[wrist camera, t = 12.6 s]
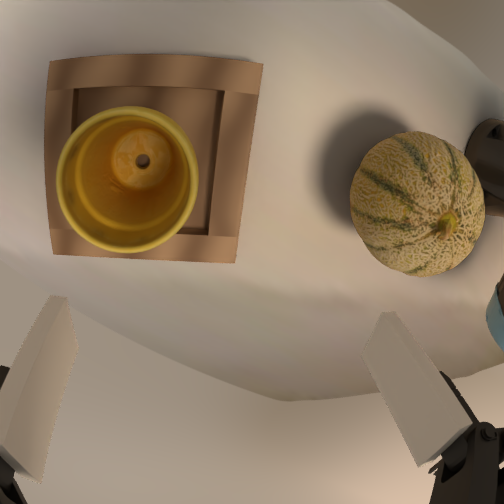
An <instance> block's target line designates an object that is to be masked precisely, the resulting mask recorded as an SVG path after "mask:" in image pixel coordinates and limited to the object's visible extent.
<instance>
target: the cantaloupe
mask: <svg viewBox="0 0 504 504" xmlns="http://www.w3.org/2000/svg"><path fill="white" fill-rule="evenodd" d="M350 208H351V209H350V212H351V216H352V220H353V222H354V226H355V227H356V229H357V232H358V234H359V235H360V237H361V238H362V240H363V242H364V244H365V245H366V247H367V248H368V250H369V251H370V252H371V254H372V255H373V256H374V257H375V258H376V259H377V260H378V261H380V262H381V263H382V264H384V265H386V266H387V267H389V268H391V269H394V270H398V271H401V272H403V273H405V274H407V275H410V276H418V277H427V276H433V275H436V274H440V273H442V272H445V271H447V270H450V269H453V268H454V267H455V266H457V265H458V264H459V263H460V262H461V261H462V260H463V259H465V258H466V257H467V256H468V254H469V253H470V252H471V251H472V249H473V247H474V244H475V243H476V241H477V239H478V237H479V236H480V233H481V231H482V228H483V223H484V220H485V204H484V197H483V190H482V188H481V184H480V182H479V179H478V177H477V175H476V173H475V171H474V169H473V168H472V167H471V165H470V163H469V161H468V160H467V158H466V157H465V156H464V155H463V154H462V153H461V151H459V150H458V149H456V148H455V147H454V146H452V145H451V144H449V143H448V142H446V141H444V140H441V139H439V138H437V137H435V136H433V135H430V134H427V133H424V132H419V131H417V132H406V133H399V134H396V135H394V136H392V137H390V138H388V139H385V140H383V141H381V142H379V143H377V144H376V145H375V146H374V147H373V148H371V150H369V151H368V152H367V154H366V155H365V156H364V158H363V160H362V162H361V164H360V167H359V168H358V169H357V171H356V173H355V176H354V178H353V181H352V186H351V189H350Z"/></svg>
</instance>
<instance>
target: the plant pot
mask: <svg viewBox="0 0 504 504" xmlns="http://www.w3.org/2000/svg"><path fill="white" fill-rule="evenodd" d="M143 154H144V155H147V156H148V157H149V160H150V162H149V164H148V166H146V167H141V166H139V165H138V163H137V159H138V157H139V156H140V155H143ZM198 184H199V174H198V164H197V159H196V155H195V151H194V149H193V146H192V144H191V142H190V140H189V138H188V136H187V135H186V133H185V132H184V131H183V129H182V128H181V127H180V126H179V125H178V124H177V123H176V122H175V121H174V120H172V119H171V118H170V117H168V116H166V115H165V114H163V113H161V112H158V111H156V110H153V109H149V108H145V107H138V106H124V107H117V108H112V109H109V110H105V111H103V112H100V113H98V114H96V115H94V116H92V117H91V118H89V119H88V120H86V121H85V122H84V123H82V124H81V125H80V126H79V127H78V128H77V129H76V130H75V131H74V132H73V133H72V135H71V136H70V137H69V139H68V140H67V142H66V144H65V145H64V147H63V150H62V152H61V155H60V158H59V161H58V165H57V171H56V191H57V197H58V201H59V204H60V207H61V210H62V212H63V214H64V216H65V218H66V219H67V221H68V222H69V224H70V225H71V227H72V228H73V229H74V230H75V231H76V232H77V233H78V234H79V235H80V236H81V237H82V238H84V239H85V240H86V241H88V242H89V243H91V244H93V245H95V246H97V247H99V248H102V249H104V250H107V251H111V252H117V253H138V252H143V251H147V250H150V249H152V248H155V247H157V246H159V245H161V244H162V243H164V242H166V241H167V240H169V239H170V238H171V237H172V236H174V235H175V234H176V233H177V232H178V231H179V230H180V229H181V227H182V226H183V225H184V223H185V222H186V220H187V219H188V217H189V216H190V214H191V212H192V209H193V207H194V204H195V201H196V197H197V193H198Z"/></svg>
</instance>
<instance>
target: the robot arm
mask: <svg viewBox="0 0 504 504" xmlns="http://www.w3.org/2000/svg"><path fill="white" fill-rule="evenodd" d="M465 157H466V158H467V160H468V161H469V163H470V165H471V167H472V168H473V169H474V171H475V173H476V175H477V177H478V179H479V182H480V184H481V188H482V190H483V197H484V204H485V214H488V215H493V216H500V217H504V122H503V121H500V120H496V119H488V120H486V121H484V122H482V123H481V124H480V125H479V126H478V127H477V128H476V130H475V131H474V133H473V134H472V136H471V138H470V141H469V143H468V146H467V149H466V153H465ZM486 321H487V324H488V328H489V330H490V332H491V334H492V336H493V338H494V340H495V341H496V343H497V344H498V346H499V347H500V348H501V349H502V351H503V352H504V274H503V276H502V278H501V280H500V282H498V283H497V285H496V287H495V291H494V294H493V296H492V298H491V300H490V302H489V304H488V306H487V309H486ZM78 350H79V346H78V343H77V339H76V335H75V331H74V327H73V323H72V319H71V315H70V310H69V306H68V301H67V297H60V296H53V295H50V297H49V298H48V300H47V302H46V303H45V305H44V307H43V308H42V310H41V312H40V313H39V315H38V317H37V319H36V320H35V322H34V324H33V326H32V327H31V329H30V331H29V333H28V335H27V337H26V338H25V340H24V342H23V344H22V346H21V348H20V350H19V352H18V354H17V356H16V358H15V360H14V362H13V364H12V366H11V368H9V367H5V366H2V365H1V366H0V504H27V502H26V500H25V498H24V496H23V494H22V492H21V490H20V488H19V486H18V484H17V482H16V481H15V479H14V478H13V477H14V472H15V471H16V472H17V473H18V474H19V475H20V476H21V477H22V478H25V479H28V480H31V481H34V482H37V483H40V484H41V482H42V477H43V472H44V467H45V463H46V458H47V454H48V449H49V445H50V441H51V436H52V433H53V429H54V425H55V421H56V418H57V414H58V411H59V407H60V404H61V401H62V397H63V394H64V391H65V388H66V385H67V382H68V379H69V376H70V373H71V369H72V366H73V364H74V361H75V357H76V355H77V352H78ZM361 357H362V359H363V361H364V363H365V364H366V366H367V368H368V370H369V372H370V374H371V376H372V377H373V379H374V381H375V383H376V385H377V387H378V389H379V391H380V393H381V394H382V396H383V398H384V400H385V402H386V404H387V406H388V408H389V410H390V412H391V414H392V416H393V418H394V420H395V422H396V424H397V426H398V428H399V429H400V431H401V433H402V436H403V438H404V439H405V442H406V444H407V446H408V447H409V450H410V452H411V454H412V456H413V458H414V460H415V462H416V464H417V466H418V467H421V466H424V465H426V464H428V463H431V462H432V461H433V460H435V459H436V458H437V457H438V456H439V455H440V454H441V456H442V459H441V460H440V461H439V462H438V463H437V464H435V465H434V466H433V467H432V468H431V469H430V470H429V472H428V473H432V472H433V471H434V470H436V469H437V468H438V470H437V471H436V472H435V473H434V475H436V479H435V483H434V487H433V491H432V495H431V499H430V503H429V504H504V467H503V468H502V469H500V468H499V464H500V463H502V462H503V461H504V428H495V427H494V426H493V425H492V424H490V423H488V422H481V423H480V422H479V421H478V420H477V418H476V417H475V415H474V414H473V412H472V410H471V409H470V407H469V406H468V404H467V403H466V402H465V400H464V398H463V397H462V396H461V394H460V392H459V391H458V389H456V386H455V385H454V384H453V382H452V381H451V379H450V378H449V377H448V376H447V375H445V374H444V373H443V372H442V371H438V370H437V368H436V367H435V365H434V364H433V363H432V361H431V360H430V358H429V357H428V355H427V354H426V353H425V351H424V350H423V349H422V347H421V346H420V344H419V343H418V342H417V340H416V339H415V338H414V336H413V335H412V334H411V332H410V331H409V330H408V328H407V327H406V326H405V324H404V323H403V322H402V320H401V319H400V318H399V316H398V315H397V314H396V313H395V312H382V313H381V315H380V318H379V320H378V322H377V324H376V326H375V328H374V331H373V333H372V335H371V337H370V339H369V341H368V343H367V345H366V347H365V349H364V351H363V353H362V355H361Z"/></svg>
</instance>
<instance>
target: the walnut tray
mask: <svg viewBox="0 0 504 504" xmlns="http://www.w3.org/2000/svg"><path fill="white" fill-rule="evenodd" d="M262 71H263V64H261V63H254V62H248V61H240V60H233V59H224V58H215V57H203V56H190V55H169V54H124V55H103V56H90V57H80V58H70V59H62V60H55V61H50V64H49V72H48V81H47V92H46V106H45V129H44V160H45V184H46V198H47V210H48V219H49V228H50V235H51V243H52V249H53V254H56V255H73V256H91V257H109V258H129V259H148V260H169V261H191V262H213V263H235V259H236V251H237V244H238V236H239V229H240V222H241V214H242V207H243V200H244V193H245V185H246V178H247V171H248V164H249V157H250V150H251V144H252V137H253V130H254V123H255V116H256V110H257V103H258V97H259V90H260V84H261V77H262ZM124 106H138V107H145V108H149V109H153V110H156V111H158V112H161V113H163V114H165V115H166V116H168V117H170V118H171V119H172V120H174V121H175V122H176V123H177V124H178V125H179V126H180V127H181V128H182V129H183V131H184V132H185V133H186V135H187V136H188V138H189V140H190V142H191V144H192V146H193V149H194V151H195V155H196V159H197V164H198V174H199V184H198V193H197V197H196V201H195V204H194V207H193V209H192V212H191V214H190V216H189V217H188V219H187V220H186V222H185V223H184V225H183V226H182V227H181V229H180V230H179V231H178V232H177V233H176V234H175V235H174V236H172V237H171V238H170V239H169V240H167V241H166V242H164V243H162V244H161V245H159V246H157V247H155V248H152V249H150V250H147V251H143V252H138V253H117V252H111V251H107V250H104V249H102V248H99V247H97V246H95V245H93V244H91V243H89V242H88V241H86V240H85V239H84V238H82V237H81V236H80V235H79V234H78V233H77V232H76V231H75V230H74V229H73V228H72V227H71V225H70V224H69V222H68V221H67V219H66V218H65V216H64V214H63V212H62V210H61V207H60V204H59V201H58V197H57V191H56V171H57V165H58V161H59V158H60V155H61V152H62V150H63V147H64V145H65V144H66V142H67V140H68V139H69V137H70V136H71V135H72V133H73V132H74V131H75V130H76V129H77V128H78V127H79V126H80V125H81V124H82V123H84V122H85V121H86V120H88V119H89V118H91V117H92V116H94V115H96V114H98V113H100V112H103V111H105V110H109V109H112V108H117V107H124ZM149 162H150V160H149V157H148V156H147V155H144V154H143V155H140V156H139V157H138V159H137V163H138V165H139V166H141V167H146V166H148V164H149Z"/></svg>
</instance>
